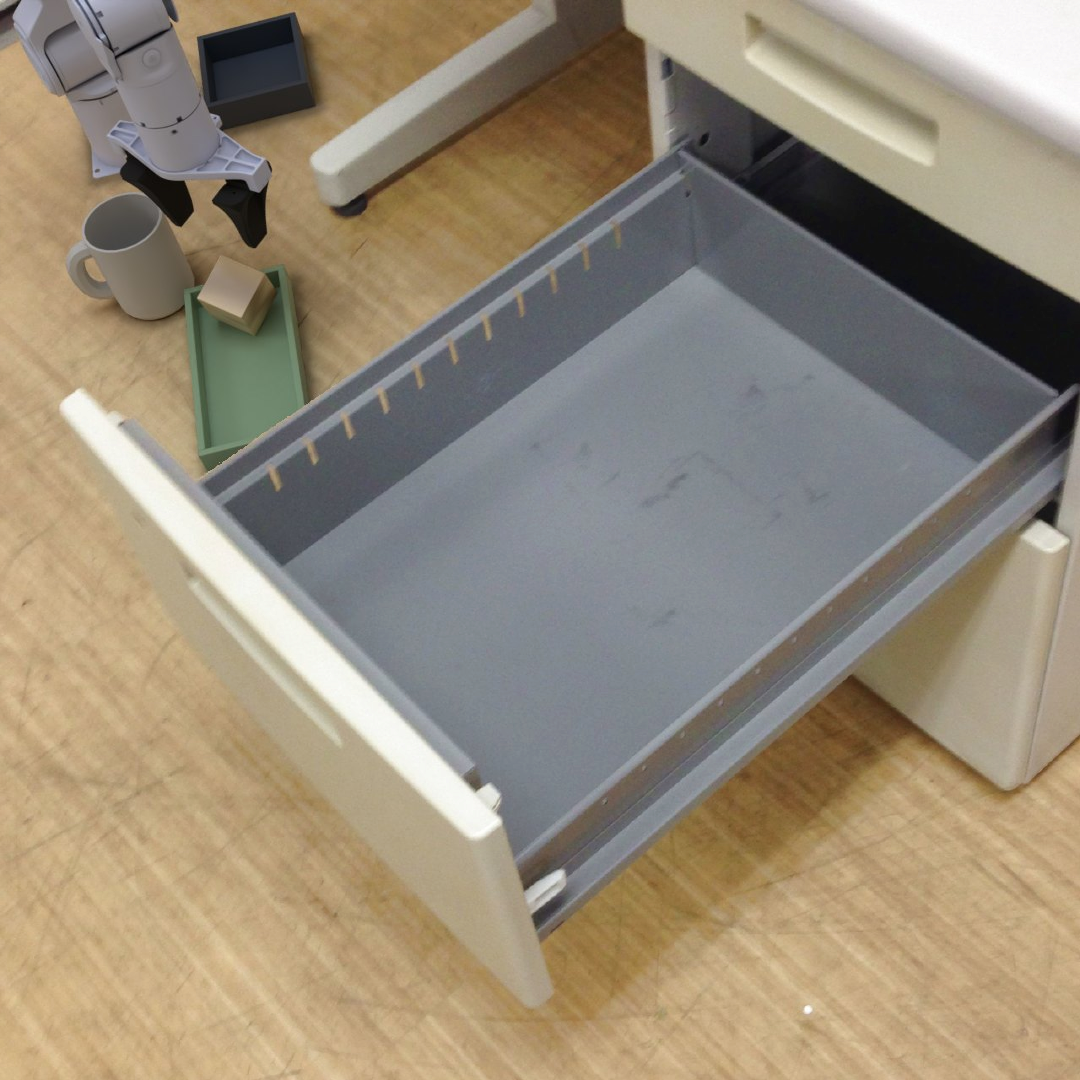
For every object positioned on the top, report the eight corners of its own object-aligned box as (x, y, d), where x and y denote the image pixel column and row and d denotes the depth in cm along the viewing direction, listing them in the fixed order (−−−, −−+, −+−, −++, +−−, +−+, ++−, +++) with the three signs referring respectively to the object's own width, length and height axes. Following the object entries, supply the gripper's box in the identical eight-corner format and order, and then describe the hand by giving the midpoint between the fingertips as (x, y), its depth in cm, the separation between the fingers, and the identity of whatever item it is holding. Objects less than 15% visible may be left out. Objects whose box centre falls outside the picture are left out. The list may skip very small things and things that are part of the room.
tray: (192, 308, 136) (183, 289, 134) (291, 283, 136) (283, 263, 134) (208, 474, 126) (198, 456, 124) (316, 446, 126) (307, 428, 123)
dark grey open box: (207, 64, 155) (196, 36, 152) (304, 40, 155) (294, 11, 152) (216, 135, 149) (204, 108, 146) (317, 110, 149) (307, 81, 146)
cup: (201, 308, 136) (166, 237, 129) (94, 340, 136) (53, 272, 129) (191, 253, 140) (157, 182, 133) (87, 285, 140) (47, 215, 133)
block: (234, 274, 134) (220, 253, 130) (278, 293, 133) (265, 273, 129) (211, 317, 133) (196, 298, 129) (255, 336, 133) (241, 318, 128)
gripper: (269, 88, 116) (316, 216, 127) (120, 51, 121) (178, 177, 132) (220, 150, 113) (272, 275, 124) (69, 109, 118) (133, 233, 129)
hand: (221, 229), depth 128 cm, fingers open, 7 cm apart
